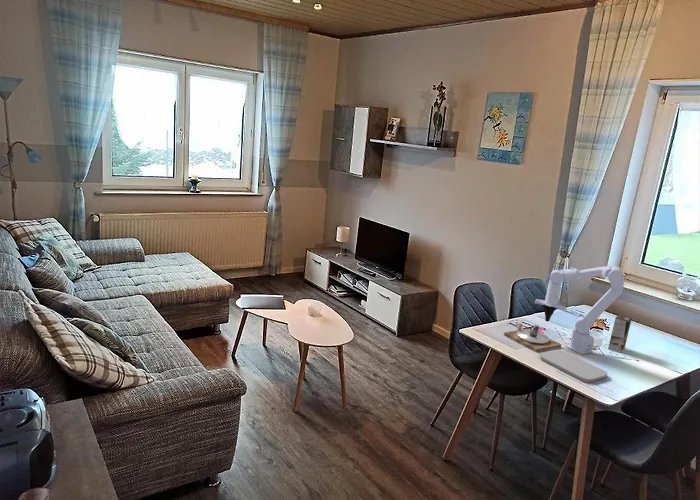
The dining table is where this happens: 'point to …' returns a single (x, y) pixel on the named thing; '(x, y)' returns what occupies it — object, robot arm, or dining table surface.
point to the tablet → (573, 365)
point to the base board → (532, 346)
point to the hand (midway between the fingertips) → (547, 320)
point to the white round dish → (537, 339)
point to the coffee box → (619, 333)
